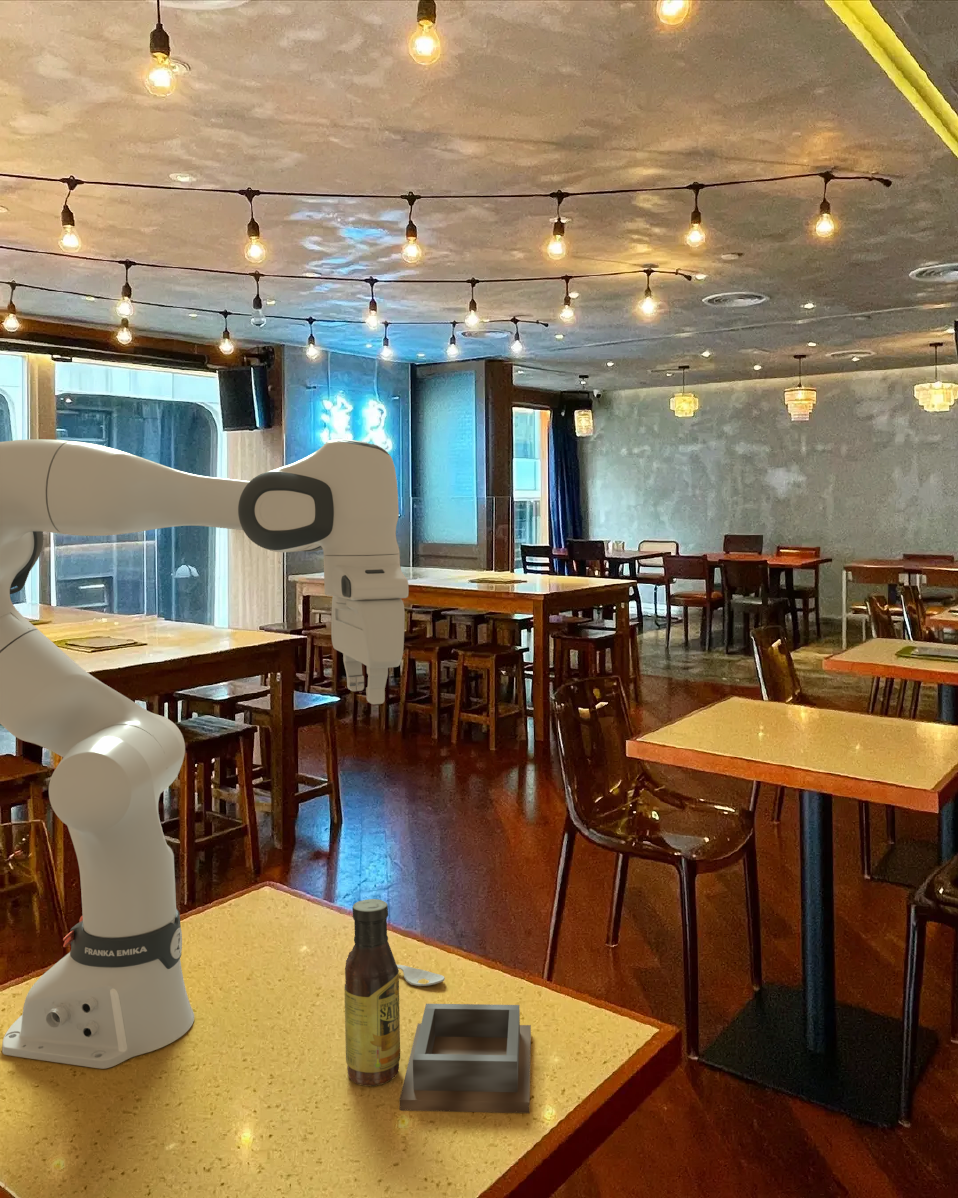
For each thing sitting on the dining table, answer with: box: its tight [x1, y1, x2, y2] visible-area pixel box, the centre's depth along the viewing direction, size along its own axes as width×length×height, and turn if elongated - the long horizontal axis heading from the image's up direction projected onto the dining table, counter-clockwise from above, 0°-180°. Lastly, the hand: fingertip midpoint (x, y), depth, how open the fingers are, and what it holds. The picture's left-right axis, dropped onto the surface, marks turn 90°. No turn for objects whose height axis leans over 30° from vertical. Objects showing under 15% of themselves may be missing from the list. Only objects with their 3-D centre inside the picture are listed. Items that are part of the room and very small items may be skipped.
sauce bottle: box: [344, 898, 401, 1087], centre depth 112 cm, size 6×6×20 cm
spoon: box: [396, 964, 446, 987], centre depth 139 cm, size 4×21×2 cm, turn 56°
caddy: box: [398, 1003, 532, 1114], centre depth 113 cm, size 14×16×5 cm
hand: (365, 696), depth 115 cm, fingers open, 8 cm apart
